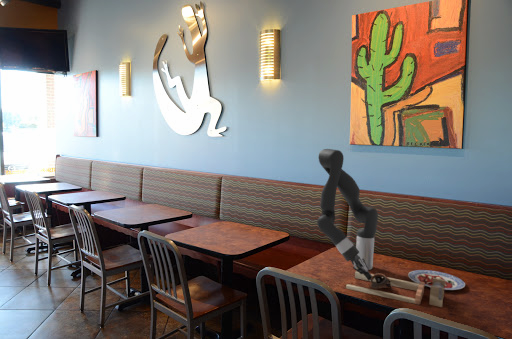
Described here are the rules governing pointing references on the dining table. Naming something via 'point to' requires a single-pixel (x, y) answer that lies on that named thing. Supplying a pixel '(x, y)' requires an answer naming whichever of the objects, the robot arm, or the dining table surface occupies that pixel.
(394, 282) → the bay
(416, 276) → the ceramic plate
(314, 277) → the dining table surface
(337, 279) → the dining table surface
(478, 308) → the dining table surface
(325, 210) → the robot arm
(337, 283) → the dining table surface
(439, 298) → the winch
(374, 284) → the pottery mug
